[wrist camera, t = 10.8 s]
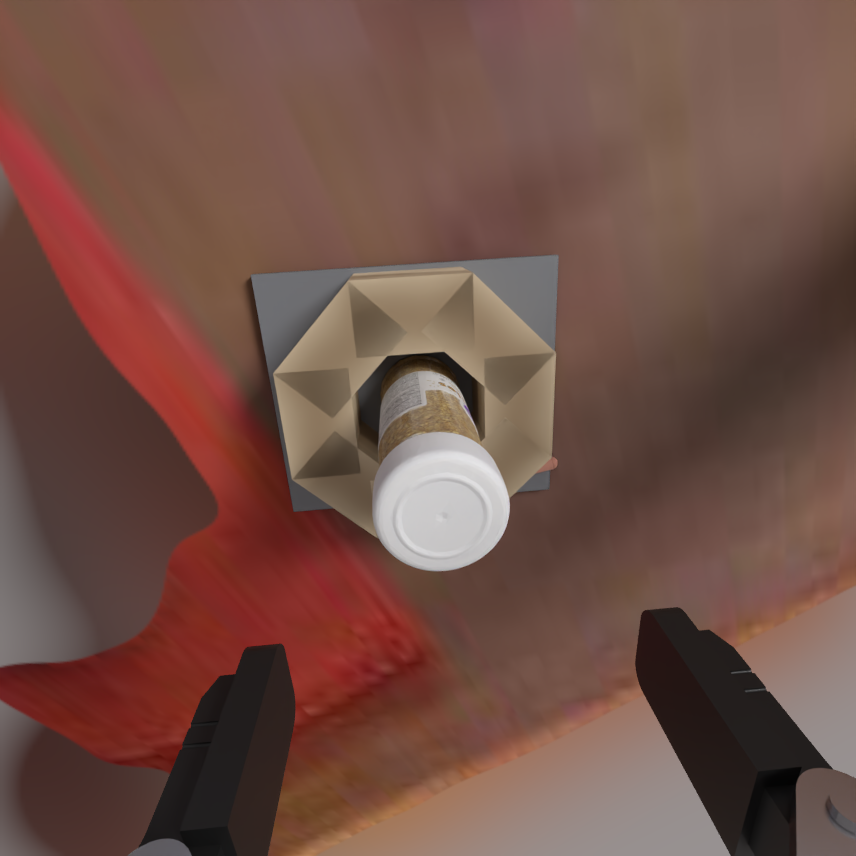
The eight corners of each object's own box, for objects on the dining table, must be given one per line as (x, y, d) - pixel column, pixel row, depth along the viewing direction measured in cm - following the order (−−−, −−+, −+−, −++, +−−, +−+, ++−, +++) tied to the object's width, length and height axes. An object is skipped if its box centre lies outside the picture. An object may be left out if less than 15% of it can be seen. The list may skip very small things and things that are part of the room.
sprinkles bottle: (473, 399, 29) (538, 528, 16) (410, 443, 30) (426, 599, 17) (428, 335, 27) (461, 426, 15) (362, 383, 28) (341, 508, 16)
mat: (554, 254, 27) (558, 255, 26) (546, 484, 32) (549, 489, 31) (253, 274, 26) (250, 275, 25) (295, 506, 31) (293, 511, 31)
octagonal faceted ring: (535, 261, 26) (559, 266, 23) (529, 487, 31) (549, 521, 28) (276, 278, 26) (257, 286, 22) (313, 506, 31) (303, 544, 27)
